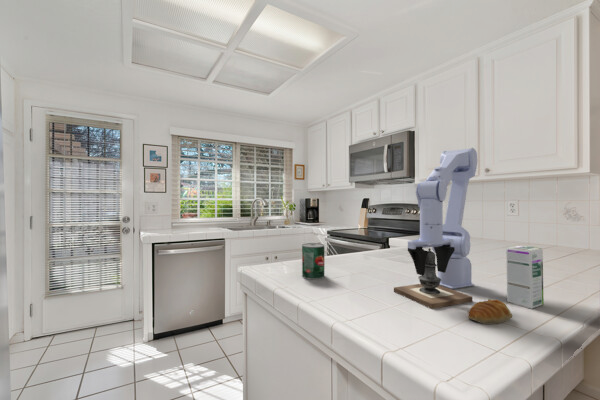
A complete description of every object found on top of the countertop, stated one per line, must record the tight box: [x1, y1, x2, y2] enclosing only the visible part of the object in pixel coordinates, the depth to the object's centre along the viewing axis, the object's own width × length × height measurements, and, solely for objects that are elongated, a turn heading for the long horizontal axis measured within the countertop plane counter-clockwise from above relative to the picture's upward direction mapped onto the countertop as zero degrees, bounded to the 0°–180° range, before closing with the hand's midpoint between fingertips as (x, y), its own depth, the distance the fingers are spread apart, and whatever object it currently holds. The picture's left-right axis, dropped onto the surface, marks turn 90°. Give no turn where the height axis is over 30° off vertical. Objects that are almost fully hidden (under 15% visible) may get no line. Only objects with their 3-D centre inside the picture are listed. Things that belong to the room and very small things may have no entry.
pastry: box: [467, 299, 513, 325], centre depth 65 cm, size 9×7×4 cm
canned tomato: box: [301, 242, 326, 280], centre depth 101 cm, size 8×8×11 cm
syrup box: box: [505, 245, 545, 310], centre depth 74 cm, size 6×6×14 cm
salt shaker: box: [418, 247, 441, 294], centre depth 80 cm, size 6×6×12 cm
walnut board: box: [393, 283, 474, 310], centre depth 80 cm, size 14×14×1 cm
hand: (431, 273), depth 80 cm, fingers open, 7 cm apart
